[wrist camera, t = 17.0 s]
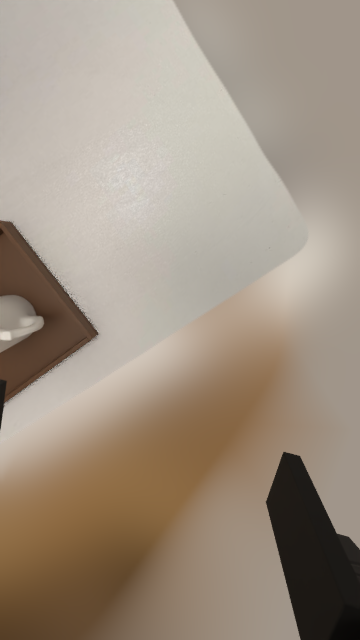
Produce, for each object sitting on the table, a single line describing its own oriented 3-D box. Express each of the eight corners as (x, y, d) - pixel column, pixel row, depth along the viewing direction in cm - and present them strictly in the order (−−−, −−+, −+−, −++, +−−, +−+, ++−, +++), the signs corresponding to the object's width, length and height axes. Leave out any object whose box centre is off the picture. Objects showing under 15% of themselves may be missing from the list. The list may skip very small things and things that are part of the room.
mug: (-6, 342, 46) (-76, 373, 34) (-14, 293, 44) (-89, 309, 32) (66, 340, 45) (20, 371, 33) (60, 291, 44) (10, 305, 32)
